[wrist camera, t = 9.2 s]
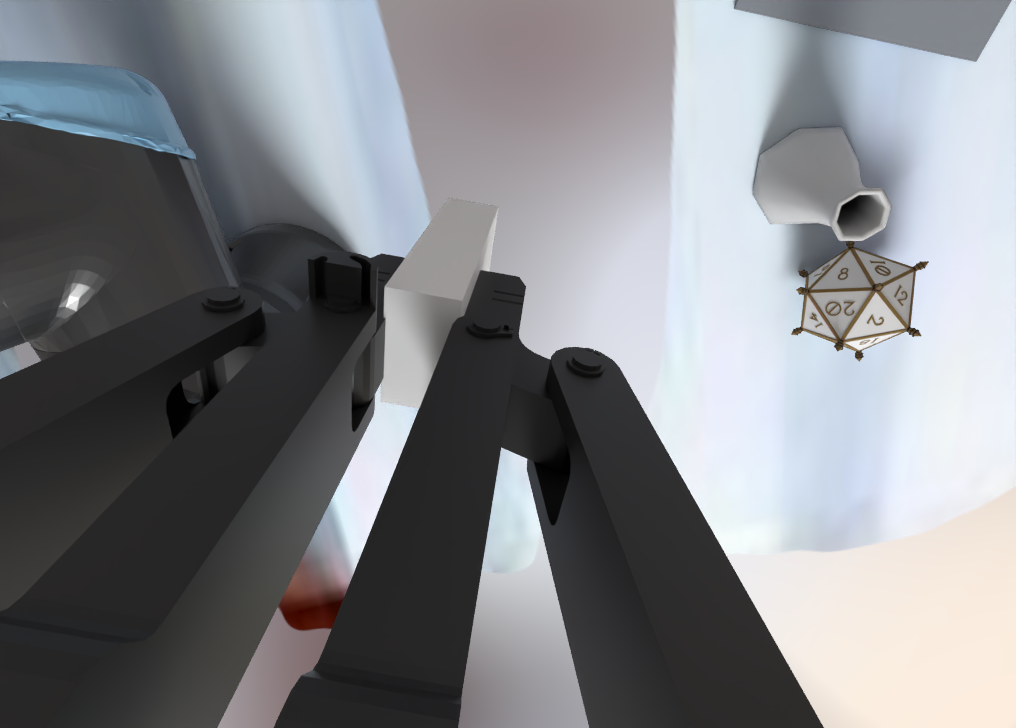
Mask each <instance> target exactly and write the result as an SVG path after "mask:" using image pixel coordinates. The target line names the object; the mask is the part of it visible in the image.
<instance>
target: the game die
mask: <svg viewBox="0 0 1016 728" xmlns="http://www.w3.org/2000/svg"><path fill="white" fill-rule="evenodd" d="M845 242H846V243H847V244H846V245H847V246H848V248H847V249H846V250H844V251H843V252H841V253H840V254H838V255H837V256H835V257H834V258H832V259H831V260H829V261H828V262H826V263H825V264H823V265H822V266H820V267H819V268H817V269H816V270H814V271H813V272H811V273H810V274H808V272H807V271H805V270H801V271H798V272H799V274H800V276H802V277H806V284H805V288H803V287H800V288H798V289H796V290H797V291H798V293H799V295H800V294H802V295H804V302H803V311H802V321H801V327H800V328H796V329H793V332H792V334H791V335H798V334H799V333H801V332H802V331H806V332H808V333H811V334H813V335H816V336H818V337H821V338H823V339H826V340H829V341H831V342H834V343H835V344H836V345H835V346H834V347H835V348H836V350H837V351H839V350H842V349H843V346H844V347H846V348H849V349H852V350H854V351H856V353H855V358H856V359H857V360H858V361H860V360H861V359H862V358H863V357H864V356H863V353H862V352H861V351H862V350H864V349H866V348H869V347H871V346H873V345H876V344H878V343H880V342H883V341H885V340H887V339H890V338H892V337H894V336H897V335H899V334H901V333H904V332H906V331H907V332H908V333H909V335H912V337H914V336H921V334H920V333H919V330H916V329H915V328H910V325H911V315H912V305H913V295H914V284H915V274H916V271H917V270H921V269H923V268H925V267H926V265H927V264H928V262H929V261H928V262H921V261H920V263H918V264H916V265H915V266H914V267H911V266H908V265H905V264H902V263H899V262H896V261H893V260H890V259H887V258H884V257H881V256H878V255H875V254H872V253H869V252H866V251H863V250H860V249H857V248H855V247H853V245H854V241H845Z"/></svg>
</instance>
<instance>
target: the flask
mask: <svg viewBox="0 0 1016 728" xmlns="http://www.w3.org/2000/svg"><path fill="white" fill-rule="evenodd" d="M753 196H754V198H755V200H756V201H757V203H758V205H759V206H760V208H761V210H762V211H763V213H764V215H765V216H766V218H767V220H768V221H769V223H770V224H813V223H820V224H824V225H827V226H831V227H832V229H833V231H834V232H835V234H836V236H837V238H838V240H840V241H863V240H865V239H867V238H868V237H870V236H872V235H874V234H875V233H877V232H879V231H881V230H882V229H884V228H885V226H886V223H887V220H888V217H889V214H890V211H891V207H892V206H891V204H890V202H889V200H888V198H887V196H886V194H885V192H884V190H883V189H882V188H867V187H866V186H864V185H863V184H862V182H861V177H860V168H859V162H858V159H857V157H856V155H855V153H854V151H853V149H852V147H851V145H850V143H849V141H848V139H847V137H846V135H845V133H844V131H843V129H842V127H828V128H799V129H797V130H796V131H794V132H793V133H791V134H790V135H788V136H787V137H785V138H784V139H782V140H781V141H779V142H778V143H777V144H775V145H774V146H772V147H771V148H769V149H768V150H766V151H765V152H763V153H762V154H761V155H760V157H759V162H758V168H757V173H756V178H755V184H754V189H753Z"/></svg>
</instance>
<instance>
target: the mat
mask: <svg viewBox="0 0 1016 728" xmlns="http://www.w3.org/2000/svg"><path fill="white" fill-rule="evenodd" d="M1010 2H1011V0H737V2H736V5H735V8H734V9H737V10H742V11H746V12H751V13H755V14H760V15H764V16H769V17H774V18H778V19H783V20H787V21H792V22H796V23H801V24H805V25H810V26H815V27H819V28H824V29H828V30H833V31H837V32H842V33H846V34H851V35H856V36H860V37H865V38H869V39H874V40H878V41H883V42H887V43H892V44H897V45H901V46H906V47H910V48H915V49H919V50H924V51H928V52H933V53H938V54H942V55H947V56H951V57H956V58H960V59H965V60H970V61H975V62H976V61H977V59H978V58H979V56H980V54H981V52H982V51H983V49H984V47H985V46H986V44H987V42H988V40H989V39H990V37H991V35H992V33H993V32H994V30H995V28H996V26H997V25H998V23H999V21H1000V20H1001V18H1002V16H1003V14H1004V13H1005V11H1006V9H1007V7H1008V6H1009V4H1010Z"/></svg>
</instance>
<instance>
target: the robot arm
mask: <svg viewBox="0 0 1016 728" xmlns="http://www.w3.org/2000/svg"><path fill="white" fill-rule="evenodd" d="M196 160H197V159H196V156H195V154H194V152H193V151H192V150H191V149H189V148H188V145H187V143H186V141H185V139H184V137H183V135H182V133H181V131H180V129H179V127H178V124H177V122H176V120H175V118H174V116H173V114H172V111H171V109H170V107H169V105H168V102H167V100H166V99H165V97H164V96H163V94H162V93H161V91H160V90H159V89H158V88H157V87H156V86H155V85H154V84H152V83H151V82H150V81H149V80H147V79H146V78H144V77H142V76H141V75H139V74H136V73H134V72H131V71H129V70H125V69H121V68H115V67H108V66H98V65H88V64H73V63H56V62H32V61H0V352H1V351H3V350H6V349H9V348H11V347H14V346H17V345H20V344H22V343H25V342H29V343H30V344H31V346H32V347H33V349H34V350H35V352H36V353H37V355H38V356H39V358H40V359H41V361H40V362H38V363H36V364H33V365H31V366H29V367H27V368H25V369H22V370H20V371H18V372H15V373H13V374H11V375H9V376H6V377H4V378H2V379H0V728H217V727H218V725H219V723H220V721H221V719H222V717H223V715H224V713H225V711H226V709H227V707H228V705H229V703H230V701H231V699H232V697H233V695H234V693H235V691H236V689H237V687H238V685H239V683H240V681H241V679H242V677H243V675H244V673H245V671H246V669H247V667H248V665H249V663H250V661H251V659H252V657H253V655H254V653H255V651H256V649H257V647H258V645H259V643H260V641H261V639H262V637H263V635H264V633H265V631H266V629H267V627H268V625H269V623H270V621H271V619H272V617H273V615H274V613H275V611H276V609H277V607H278V605H279V603H280V601H281V599H282V597H283V595H284V593H285V591H286V589H287V587H288V585H289V583H290V581H291V579H292V577H293V575H294V573H295V571H296V569H297V567H298V565H299V563H300V561H301V559H302V557H303V555H304V553H305V551H306V549H307V547H308V545H309V543H310V541H311V539H312V537H313V535H314V533H315V531H316V529H317V527H318V525H319V523H320V521H321V519H322V517H323V515H324V513H325V511H326V509H327V507H328V505H329V503H330V501H331V499H332V497H333V495H334V493H335V491H336V489H337V487H338V485H339V483H340V481H341V479H342V477H343V475H344V473H345V471H346V469H347V467H348V465H349V463H350V461H351V459H352V457H353V455H354V453H355V451H356V449H357V447H358V445H359V443H360V441H361V439H362V437H363V435H364V433H365V431H366V429H367V427H368V425H369V423H370V421H371V419H372V417H373V414H374V407H375V393H376V391H377V389H378V387H379V385H380V383H381V402H386V403H392V404H398V405H403V406H409V407H414V408H419V410H418V413H417V415H416V418H415V420H414V423H413V425H412V428H411V430H410V433H409V436H408V438H407V441H406V443H405V446H404V448H403V451H402V453H401V456H400V458H399V461H398V463H397V466H396V468H395V471H394V473H393V476H392V478H391V481H390V483H389V486H388V489H387V491H386V494H385V496H384V499H383V501H382V504H381V506H380V509H379V511H378V514H377V516H376V519H375V521H374V524H373V526H372V529H371V531H370V534H369V536H368V539H367V542H366V544H365V547H364V549H363V552H362V554H361V557H360V559H359V562H358V564H357V567H356V569H355V572H354V574H353V577H352V579H351V582H350V584H349V587H348V589H347V592H346V594H345V597H344V600H343V602H342V605H341V607H340V610H339V612H338V615H337V617H336V620H335V622H334V625H333V627H332V630H331V632H330V635H329V637H328V640H327V642H326V645H325V648H324V650H323V652H322V654H321V657H320V659H319V661H318V663H317V664H316V666H315V667H314V669H313V670H312V671H310V672H308V673H306V674H304V675H302V676H301V677H300V678H299V680H298V682H297V683H296V684H295V686H294V687H293V689H292V690H291V692H290V694H289V696H288V698H287V700H286V703H285V705H284V707H283V709H282V711H281V713H280V715H279V717H278V719H277V721H276V724H275V726H274V728H458V724H459V717H460V709H461V696H462V688H463V683H464V676H465V670H466V663H467V657H468V651H469V645H470V638H471V632H472V626H473V619H474V614H475V607H476V601H477V595H478V589H479V582H480V576H481V570H482V564H483V557H484V551H485V545H486V539H487V532H488V526H489V520H490V514H491V507H492V501H493V495H494V489H495V482H496V476H497V470H498V464H499V457H500V451H501V447H502V448H504V449H506V450H509V451H511V452H513V453H515V454H518V455H520V456H522V457H525V458H527V459H528V460H527V472H528V476H529V480H530V484H531V489H532V493H533V497H534V501H535V505H536V509H537V513H538V517H539V522H540V526H541V530H542V534H543V538H544V542H545V546H546V550H547V554H548V559H549V563H550V566H551V571H552V575H553V579H554V583H555V587H556V592H557V596H558V600H559V604H560V608H561V612H562V616H563V620H564V625H565V629H566V633H567V637H568V641H569V646H570V649H571V654H572V658H573V662H574V666H575V670H576V674H577V679H578V682H579V687H580V690H581V695H582V699H583V703H584V707H585V712H586V716H587V720H588V724H589V728H824V727H823V725H822V724H821V722H820V720H819V719H818V717H817V715H816V713H815V711H814V710H813V708H812V706H811V705H810V702H809V701H808V699H807V697H806V695H805V694H804V692H803V690H802V688H801V687H800V685H799V683H798V681H797V680H796V678H795V676H794V674H793V673H792V671H791V670H790V667H789V665H788V664H787V662H786V660H785V659H784V657H783V655H782V653H781V651H780V650H779V648H778V646H777V645H776V643H775V641H774V639H773V637H772V636H771V634H770V632H769V630H768V629H767V627H766V625H765V623H764V621H763V620H762V618H761V616H760V614H759V613H758V611H757V609H756V608H755V606H754V604H753V602H752V601H751V599H750V597H749V595H748V594H747V591H746V590H745V588H744V586H743V585H742V583H741V581H740V579H739V577H738V576H737V574H736V572H735V570H734V569H733V567H732V565H731V563H730V562H729V560H728V558H727V556H726V555H725V553H724V551H723V549H722V547H721V546H720V544H719V542H718V540H717V539H716V537H715V535H714V533H713V532H712V530H711V528H710V526H709V525H708V523H707V521H706V519H705V518H704V516H703V514H702V512H701V510H700V509H699V507H698V505H697V503H696V502H695V500H694V498H693V496H692V495H691V493H690V491H689V489H688V488H687V486H686V484H685V482H684V481H683V479H682V477H681V475H680V473H679V472H678V470H677V468H676V466H675V465H674V463H673V461H672V459H671V458H670V456H669V454H668V452H667V451H666V449H665V447H664V445H663V444H662V442H661V440H660V438H659V436H658V435H657V433H656V431H655V429H654V428H653V426H652V424H651V422H650V421H649V419H648V417H647V415H646V414H645V412H644V410H643V408H642V407H641V405H640V403H639V401H638V400H637V398H636V396H635V394H634V393H633V391H632V389H631V387H630V385H629V384H628V382H627V380H626V378H625V377H624V375H623V373H622V371H621V370H620V368H619V367H618V365H617V364H616V363H615V362H614V361H613V360H612V359H610V358H609V357H607V356H605V355H604V354H602V353H601V352H598V351H596V350H595V351H594V350H593V349H589V348H579V347H568V348H563V349H560V350H558V351H556V352H555V353H554V354H553V355H552V356H551V360H550V359H547V358H544V357H542V356H540V355H538V354H536V353H534V352H532V351H531V350H529V349H528V348H526V347H525V346H524V345H523V344H522V342H521V341H520V339H519V327H520V321H521V315H522V308H523V302H524V296H525V289H526V286H525V285H524V283H523V282H522V280H521V279H520V277H516V276H511V275H505V274H500V273H495V272H489V271H490V264H491V257H492V250H493V243H494V235H495V229H496V222H497V216H498V209H499V207H498V206H492V205H487V204H481V203H476V202H470V201H464V200H459V199H453V198H448V199H447V201H446V202H445V203H444V205H443V206H442V207H441V209H440V210H439V212H438V213H437V215H436V216H435V217H434V219H433V220H432V221H431V223H430V224H429V226H428V227H427V228H426V230H425V231H424V233H423V234H422V235H421V237H420V238H419V239H418V241H417V242H416V244H415V245H414V246H413V248H412V249H411V251H410V252H409V253H408V255H407V256H406V258H403V257H398V256H392V255H386V254H380V255H377V256H375V257H372V258H369V257H367V256H364V255H360V254H356V253H351V252H345V251H344V250H343V249H342V248H340V247H339V246H338V245H337V244H335V243H334V242H332V241H331V240H329V239H328V238H326V237H324V236H322V235H320V234H318V233H316V232H314V231H312V230H309V229H306V228H303V227H299V226H295V225H289V224H268V225H263V226H259V227H256V228H253V229H251V230H249V231H247V232H245V233H243V234H242V235H240V236H238V237H237V238H235V239H233V240H232V241H231V242H229V243H228V244H227V242H226V240H225V237H224V235H223V232H222V230H221V228H220V225H219V223H218V220H217V218H216V215H215V213H214V210H213V208H212V205H211V202H210V200H209V197H208V195H207V192H206V189H205V187H204V184H203V182H202V179H201V176H200V174H199V171H198V169H197V166H196V164H195V161H196Z"/></svg>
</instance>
